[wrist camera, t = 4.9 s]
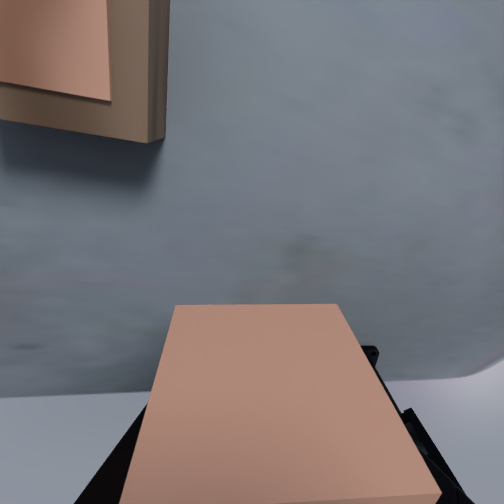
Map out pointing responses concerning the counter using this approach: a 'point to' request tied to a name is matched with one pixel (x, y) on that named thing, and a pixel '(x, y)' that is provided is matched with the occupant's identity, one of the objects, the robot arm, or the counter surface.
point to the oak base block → (86, 66)
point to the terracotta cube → (271, 415)
